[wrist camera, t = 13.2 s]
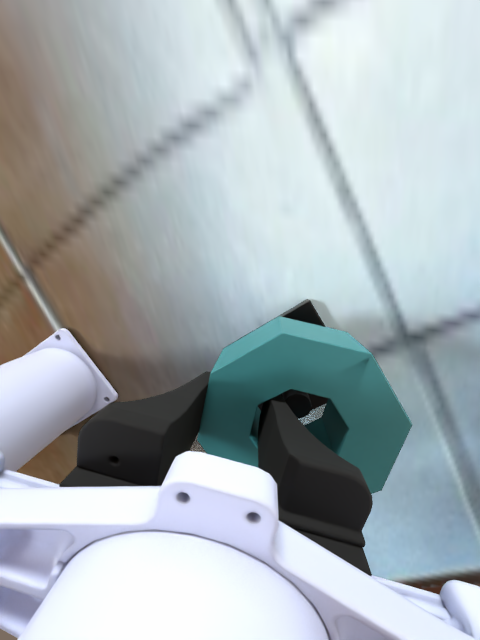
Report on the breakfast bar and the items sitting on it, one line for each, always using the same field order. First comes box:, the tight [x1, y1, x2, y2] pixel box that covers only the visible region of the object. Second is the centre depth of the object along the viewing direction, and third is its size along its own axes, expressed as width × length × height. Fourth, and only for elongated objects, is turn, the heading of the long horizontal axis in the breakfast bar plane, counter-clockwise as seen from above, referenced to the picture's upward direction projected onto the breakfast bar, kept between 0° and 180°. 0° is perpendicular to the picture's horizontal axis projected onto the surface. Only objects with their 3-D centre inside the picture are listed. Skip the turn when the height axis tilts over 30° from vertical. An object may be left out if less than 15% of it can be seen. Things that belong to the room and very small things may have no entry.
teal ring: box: [197, 316, 412, 494], centre depth 13 cm, size 10×10×3 cm
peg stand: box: [223, 299, 328, 418], centre depth 17 cm, size 8×8×6 cm
